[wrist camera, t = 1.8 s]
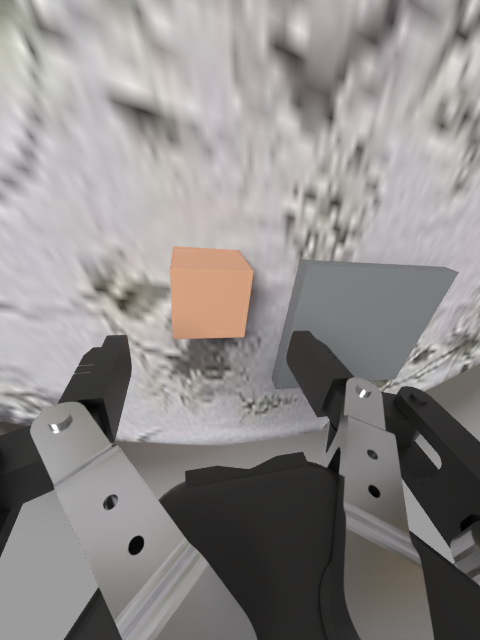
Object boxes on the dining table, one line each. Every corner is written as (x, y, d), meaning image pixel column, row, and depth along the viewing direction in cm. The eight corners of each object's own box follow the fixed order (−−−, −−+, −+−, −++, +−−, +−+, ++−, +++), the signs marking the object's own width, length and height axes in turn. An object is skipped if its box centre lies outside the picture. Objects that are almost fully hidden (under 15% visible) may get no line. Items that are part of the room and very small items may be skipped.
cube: (238, 250, 19) (253, 271, 15) (232, 305, 21) (244, 337, 17) (173, 246, 18) (170, 267, 14) (175, 305, 20) (173, 339, 16)
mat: (444, 267, 24) (458, 272, 23) (386, 370, 31) (395, 378, 30) (300, 259, 20) (307, 265, 19) (271, 379, 27) (275, 388, 26)
